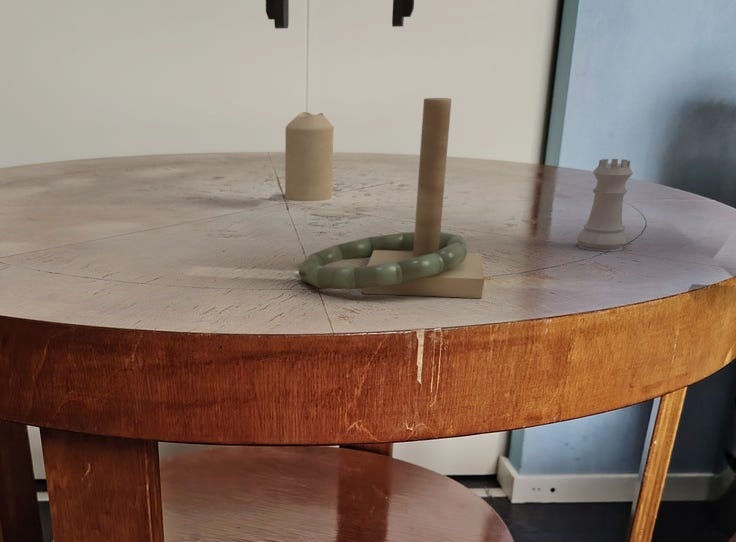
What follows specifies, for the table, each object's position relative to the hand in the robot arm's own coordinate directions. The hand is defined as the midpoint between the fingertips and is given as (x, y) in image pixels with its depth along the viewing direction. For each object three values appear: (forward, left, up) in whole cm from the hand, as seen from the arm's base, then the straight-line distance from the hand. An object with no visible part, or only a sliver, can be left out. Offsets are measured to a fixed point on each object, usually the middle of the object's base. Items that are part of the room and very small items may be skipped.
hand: (339, 27), depth 66 cm
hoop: (-4, 0, -17) cm, 17 cm away
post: (-7, 0, -18) cm, 20 cm away
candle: (+8, -37, -18) cm, 42 cm away
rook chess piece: (-23, -12, -18) cm, 32 cm away
